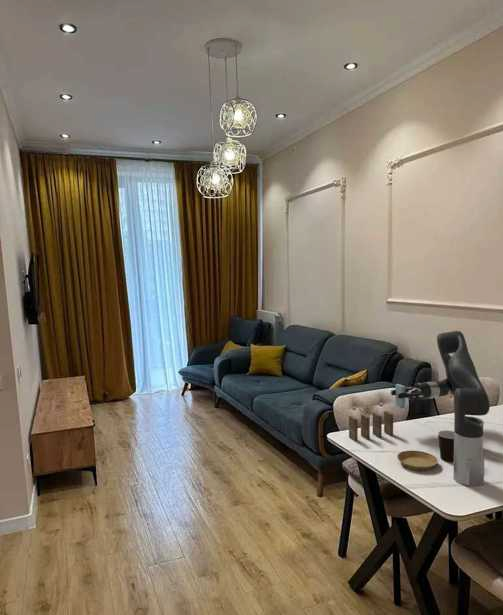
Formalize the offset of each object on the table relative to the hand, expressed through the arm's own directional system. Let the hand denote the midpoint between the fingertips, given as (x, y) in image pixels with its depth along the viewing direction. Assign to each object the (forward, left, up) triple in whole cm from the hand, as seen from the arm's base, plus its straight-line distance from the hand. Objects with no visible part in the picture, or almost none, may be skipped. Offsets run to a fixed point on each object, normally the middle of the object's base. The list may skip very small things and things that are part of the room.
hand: (395, 394), depth 204 cm
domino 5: (0, -3, -6) cm, 7 cm away
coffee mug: (-30, -8, -18) cm, 36 cm away
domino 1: (-2, +21, -18) cm, 28 cm away
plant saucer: (-31, +8, -19) cm, 37 cm away
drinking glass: (-23, -21, -18) cm, 36 cm away
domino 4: (0, +3, -18) cm, 18 cm away
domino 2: (-1, +15, -18) cm, 24 cm away
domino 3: (-1, +9, -18) cm, 20 cm away
